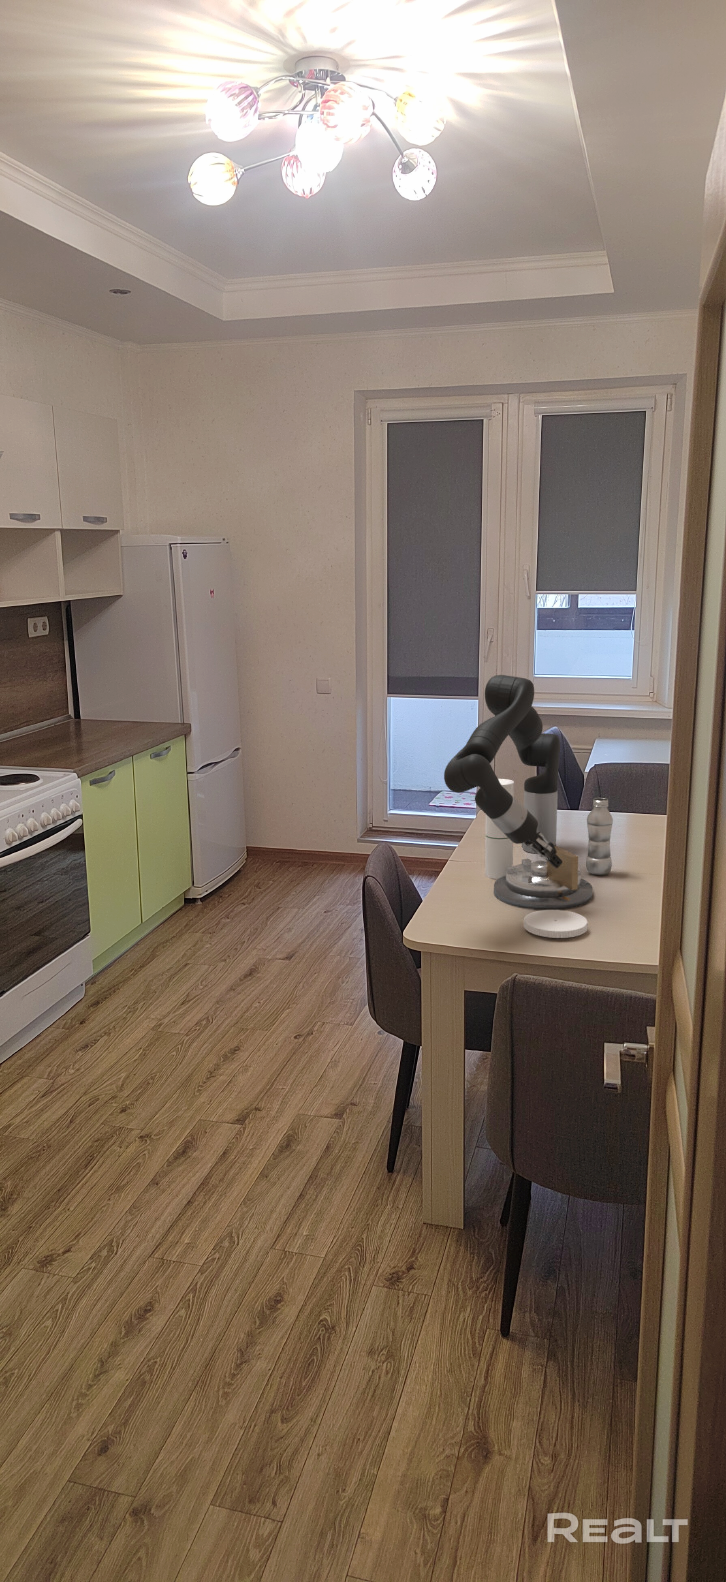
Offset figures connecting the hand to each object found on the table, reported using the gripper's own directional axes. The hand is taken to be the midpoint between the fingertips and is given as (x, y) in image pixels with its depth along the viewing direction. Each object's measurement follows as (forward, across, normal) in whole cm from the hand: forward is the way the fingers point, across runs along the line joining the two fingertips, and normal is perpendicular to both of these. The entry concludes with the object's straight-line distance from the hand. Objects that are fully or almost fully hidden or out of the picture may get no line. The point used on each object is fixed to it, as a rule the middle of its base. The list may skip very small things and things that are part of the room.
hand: (558, 864), depth 242 cm
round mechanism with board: (+9, +10, +4) cm, 14 cm away
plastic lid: (+4, -10, +13) cm, 17 cm away
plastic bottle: (+26, +20, -10) cm, 34 cm away
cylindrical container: (+9, +30, +8) cm, 32 cm away
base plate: (+10, +12, +6) cm, 17 cm away
